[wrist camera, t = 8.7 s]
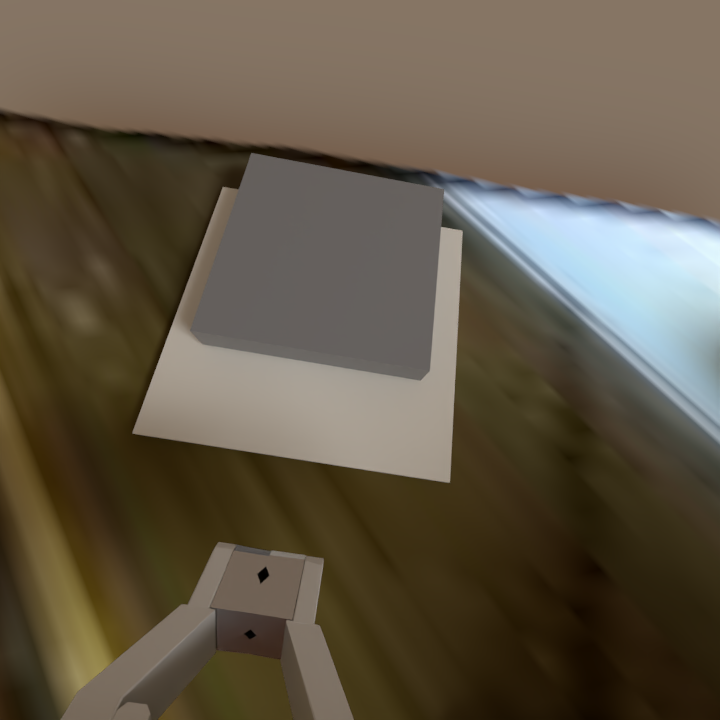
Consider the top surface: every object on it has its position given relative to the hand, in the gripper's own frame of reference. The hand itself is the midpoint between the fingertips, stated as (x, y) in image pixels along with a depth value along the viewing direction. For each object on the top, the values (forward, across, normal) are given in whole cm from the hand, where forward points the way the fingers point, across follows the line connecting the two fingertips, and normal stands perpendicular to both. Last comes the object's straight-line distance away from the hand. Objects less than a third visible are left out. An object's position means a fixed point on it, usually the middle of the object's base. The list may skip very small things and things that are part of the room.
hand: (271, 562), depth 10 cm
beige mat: (+13, +1, -3) cm, 13 cm away
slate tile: (+10, +1, -2) cm, 10 cm away
